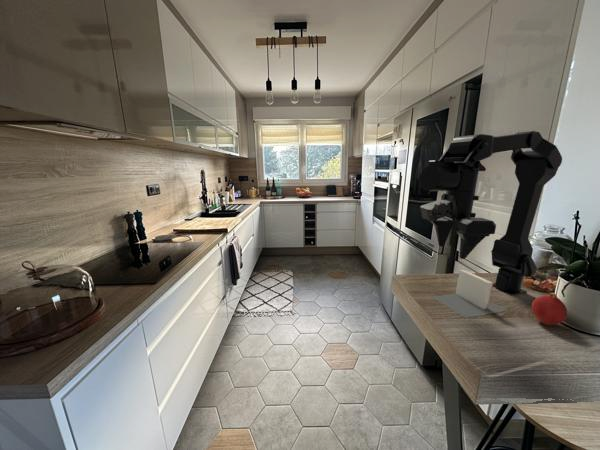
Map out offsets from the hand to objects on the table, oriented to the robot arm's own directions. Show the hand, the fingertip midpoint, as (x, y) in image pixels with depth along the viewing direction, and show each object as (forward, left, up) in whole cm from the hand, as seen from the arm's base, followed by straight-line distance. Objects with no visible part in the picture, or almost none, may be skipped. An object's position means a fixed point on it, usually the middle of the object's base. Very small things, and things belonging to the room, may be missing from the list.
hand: (450, 252), depth 64 cm
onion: (-15, +14, -14) cm, 25 cm away
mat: (-5, +3, -14) cm, 15 cm away
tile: (-7, +2, -13) cm, 15 cm away
